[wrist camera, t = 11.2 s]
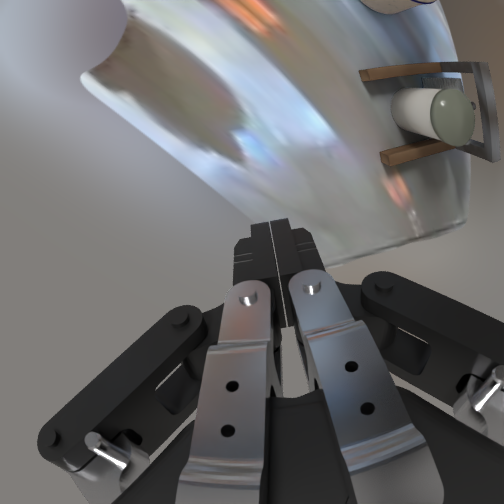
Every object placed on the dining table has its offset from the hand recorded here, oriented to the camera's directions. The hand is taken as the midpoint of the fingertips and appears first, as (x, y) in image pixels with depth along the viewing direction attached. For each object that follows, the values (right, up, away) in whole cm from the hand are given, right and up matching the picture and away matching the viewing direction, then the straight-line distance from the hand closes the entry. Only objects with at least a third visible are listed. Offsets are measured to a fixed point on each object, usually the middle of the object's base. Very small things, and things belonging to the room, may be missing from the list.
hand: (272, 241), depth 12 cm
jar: (+21, +19, +20) cm, 35 cm away
